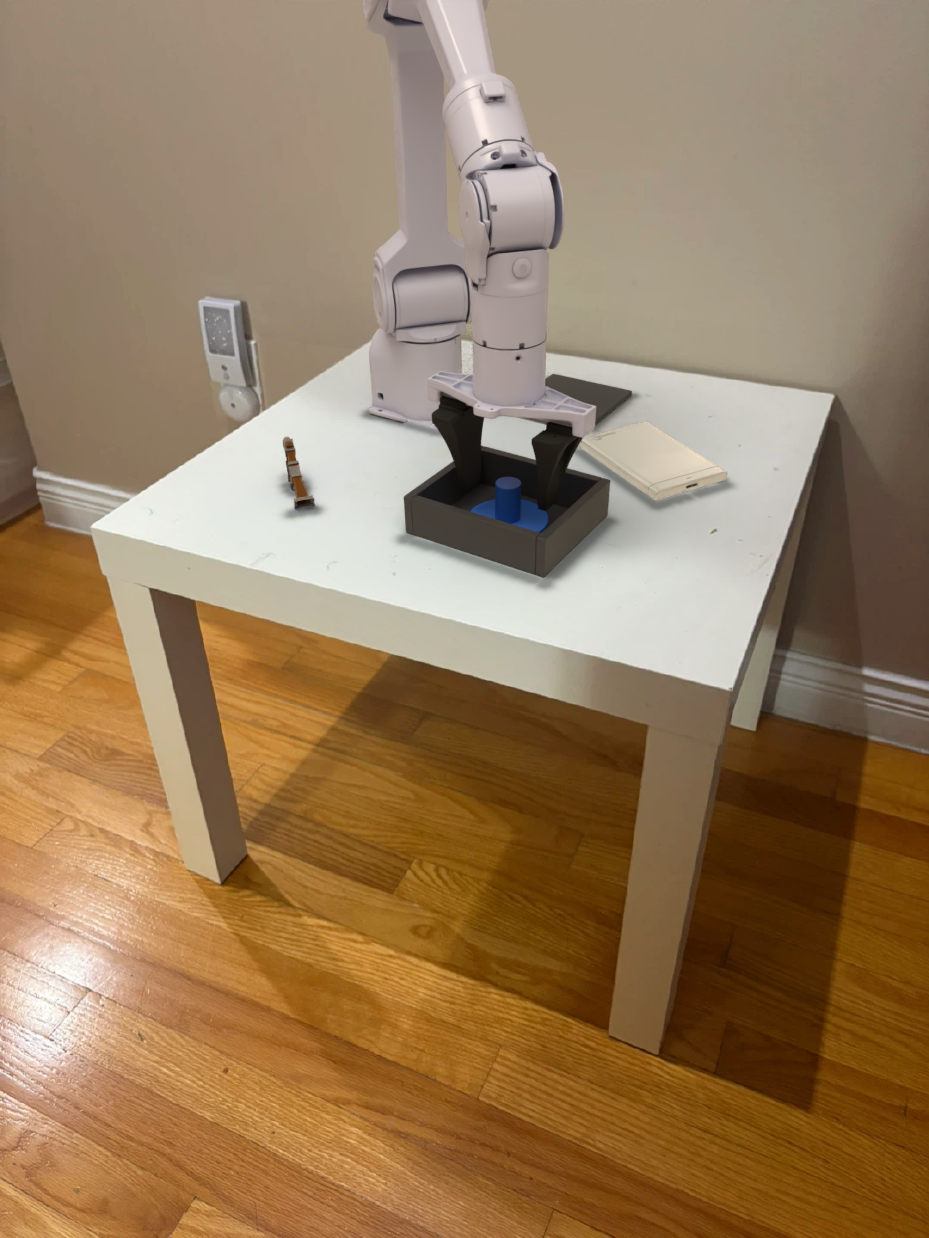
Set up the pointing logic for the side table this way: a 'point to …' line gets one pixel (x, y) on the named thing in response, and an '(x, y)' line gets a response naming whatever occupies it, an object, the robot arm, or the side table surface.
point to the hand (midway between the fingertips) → (508, 494)
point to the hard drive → (652, 460)
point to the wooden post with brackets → (295, 474)
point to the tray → (448, 521)
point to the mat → (590, 393)
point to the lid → (513, 507)
